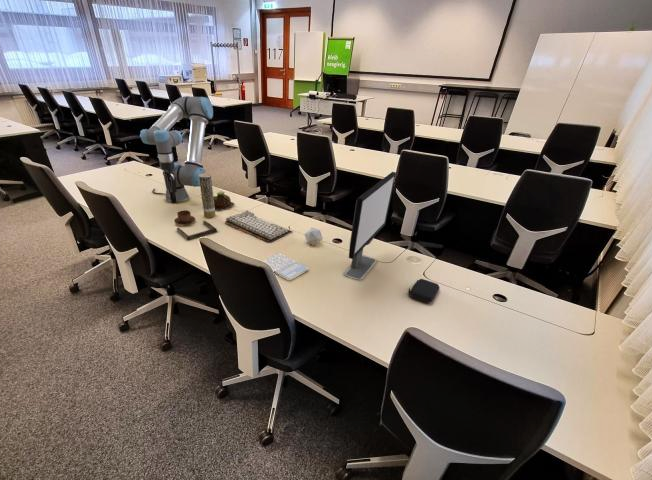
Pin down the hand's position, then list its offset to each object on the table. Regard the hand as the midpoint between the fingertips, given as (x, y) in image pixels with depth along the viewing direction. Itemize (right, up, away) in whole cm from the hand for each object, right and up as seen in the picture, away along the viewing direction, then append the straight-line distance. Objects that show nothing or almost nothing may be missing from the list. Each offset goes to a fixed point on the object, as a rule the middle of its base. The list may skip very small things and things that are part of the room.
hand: (174, 203), depth 195 cm
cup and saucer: (+7, -12, -2) cm, 15 cm away
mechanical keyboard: (+50, -16, -5) cm, 52 cm away
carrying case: (+126, -54, -54) cm, 147 cm away
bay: (+16, -19, -11) cm, 27 cm away
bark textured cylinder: (+20, -7, +6) cm, 22 cm away
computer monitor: (+103, -42, -38) cm, 117 cm away
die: (+81, -27, -19) cm, 88 cm away
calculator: (+66, -42, -40) cm, 88 cm away
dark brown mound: (+24, +3, +20) cm, 31 cm away
